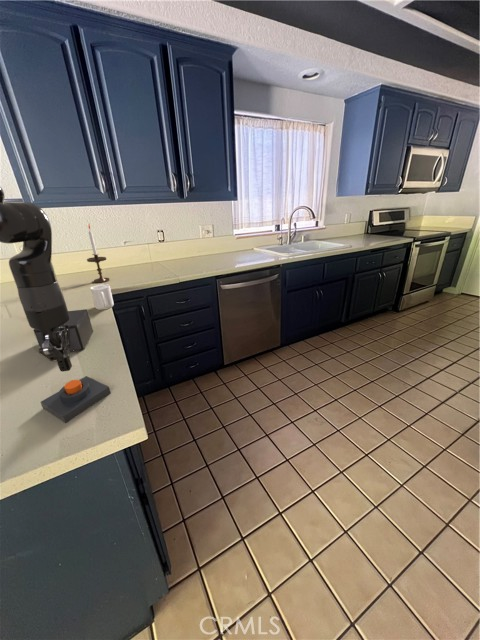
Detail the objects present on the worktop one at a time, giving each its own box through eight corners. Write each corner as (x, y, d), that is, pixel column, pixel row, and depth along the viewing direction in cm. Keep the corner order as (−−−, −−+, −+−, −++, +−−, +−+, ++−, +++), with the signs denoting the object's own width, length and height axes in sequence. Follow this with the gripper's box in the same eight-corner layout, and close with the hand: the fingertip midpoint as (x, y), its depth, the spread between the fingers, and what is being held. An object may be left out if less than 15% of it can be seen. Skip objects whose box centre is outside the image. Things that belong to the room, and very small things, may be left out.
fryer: (84, 349, 92) (76, 325, 88) (42, 355, 89) (33, 330, 85) (93, 331, 105) (87, 309, 101) (57, 335, 102) (49, 312, 98)
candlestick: (103, 277, 177) (90, 222, 162) (114, 279, 172) (102, 222, 158) (88, 282, 168) (73, 224, 153) (100, 284, 164) (85, 224, 149)
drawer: (77, 356, 87) (70, 335, 83) (37, 361, 84) (28, 340, 81) (89, 332, 102) (84, 313, 99) (56, 336, 100) (50, 317, 96)
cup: (113, 302, 134) (108, 283, 130) (115, 310, 125) (111, 289, 120) (95, 305, 130) (90, 285, 126) (96, 313, 121) (91, 292, 117)
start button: (71, 396, 65) (69, 390, 64) (63, 391, 66) (61, 386, 66) (85, 387, 68) (83, 382, 67) (77, 383, 69) (75, 378, 69)
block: (65, 423, 62) (60, 410, 60) (43, 408, 66) (37, 396, 64) (110, 393, 71) (107, 381, 69) (88, 382, 76) (84, 370, 74)
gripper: (37, 294, 62) (58, 357, 69) (8, 317, 50) (37, 389, 58) (72, 292, 64) (89, 353, 71) (53, 312, 52) (76, 383, 59)
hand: (66, 369), depth 64 cm, fingers closed
